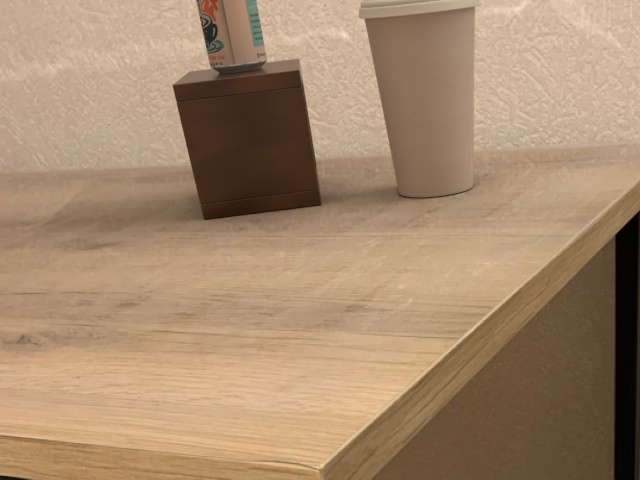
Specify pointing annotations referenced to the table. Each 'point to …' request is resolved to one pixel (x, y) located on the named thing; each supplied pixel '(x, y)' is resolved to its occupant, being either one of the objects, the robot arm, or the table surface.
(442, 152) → the coffee cup
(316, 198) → the wooden lidded box
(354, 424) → the table surface
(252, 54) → the beer can
